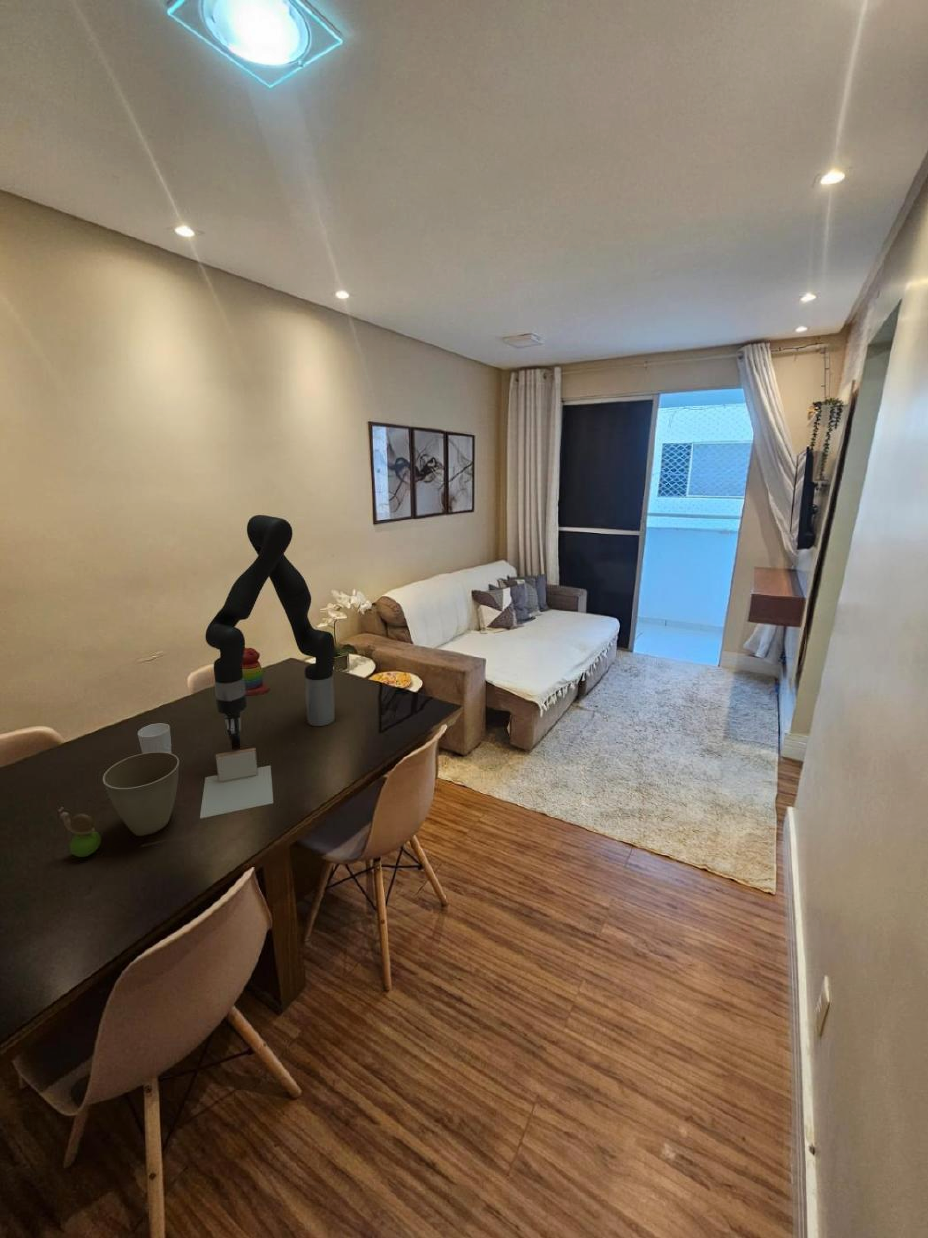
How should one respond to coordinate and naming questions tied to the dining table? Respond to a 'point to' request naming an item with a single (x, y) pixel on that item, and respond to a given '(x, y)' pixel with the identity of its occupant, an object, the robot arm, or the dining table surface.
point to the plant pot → (143, 790)
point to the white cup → (155, 738)
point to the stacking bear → (253, 673)
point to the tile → (236, 764)
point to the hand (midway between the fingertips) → (236, 748)
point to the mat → (236, 793)
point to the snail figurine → (81, 834)
